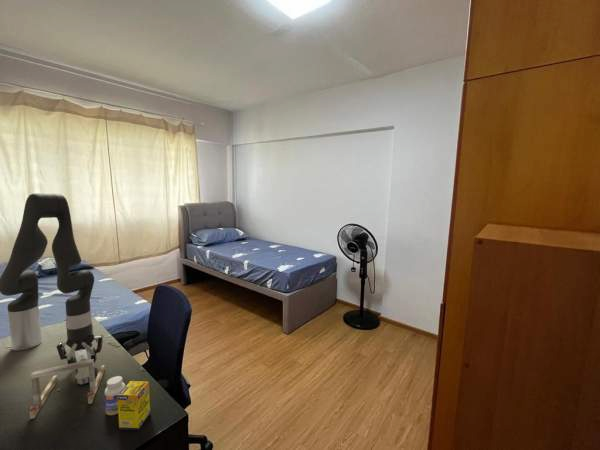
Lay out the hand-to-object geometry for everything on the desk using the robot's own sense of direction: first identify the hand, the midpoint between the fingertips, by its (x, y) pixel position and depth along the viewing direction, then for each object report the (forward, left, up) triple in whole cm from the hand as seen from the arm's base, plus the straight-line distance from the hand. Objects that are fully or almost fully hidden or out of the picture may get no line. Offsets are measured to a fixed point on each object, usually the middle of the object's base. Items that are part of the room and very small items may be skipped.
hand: (82, 365), depth 103 cm
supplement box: (+36, +21, -2) cm, 42 cm away
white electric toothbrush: (0, 0, -1) cm, 1 cm away
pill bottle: (+28, +15, -2) cm, 32 cm away
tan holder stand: (+13, 0, -2) cm, 13 cm away
